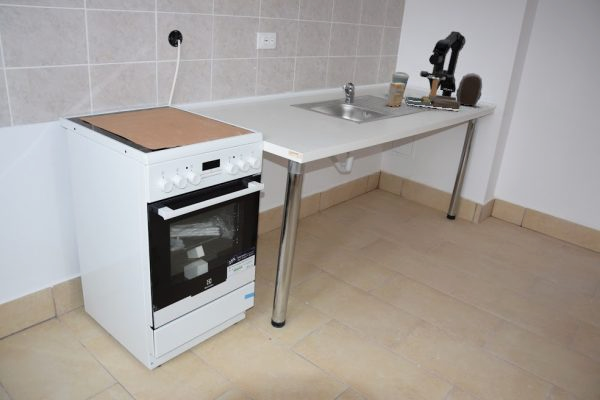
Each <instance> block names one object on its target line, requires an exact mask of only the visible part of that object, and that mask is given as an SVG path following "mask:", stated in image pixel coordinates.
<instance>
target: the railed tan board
mask: <svg viewBox="0 0 600 400" xmlns="http://www.w3.org/2000/svg"><path fill="white" fill-rule="evenodd" d="M436 97H437V99H434V101H431V104H434V105H433V107H442V108H452V109H459V110H460V107H461V104H460V102H457V96H456V97H453V96H451V97H448V96H442V95H438V94H436Z"/></svg>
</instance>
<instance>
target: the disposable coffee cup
mask: <svg viewBox="0 0 600 400" xmlns="http://www.w3.org/2000/svg"><path fill="white" fill-rule="evenodd" d="M391 78H392V79H391V80H392V82H391V83H403V84H405V89H404V92H405V91H406V88H407V84H408V81H409V78H410V76H409V74H408V73H406V72H404V71H403V72H402V71H394V72H393V73H392V75H391Z"/></svg>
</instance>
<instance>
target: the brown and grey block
mask: <svg viewBox="0 0 600 400" xmlns="http://www.w3.org/2000/svg"><path fill="white" fill-rule="evenodd" d="M432 78H433V81H432V89H431V90H430V92H429V94H428V97H429V98H430V99H431V101H434V99H437V97H436V95H437V92H438V90H437V86H438V80H439V78H435V77H432Z"/></svg>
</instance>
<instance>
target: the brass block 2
mask: <svg viewBox="0 0 600 400" xmlns="http://www.w3.org/2000/svg"><path fill="white" fill-rule="evenodd" d="M422 103H429V104H430V103H431V99H430V98H423V102H422Z"/></svg>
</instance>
